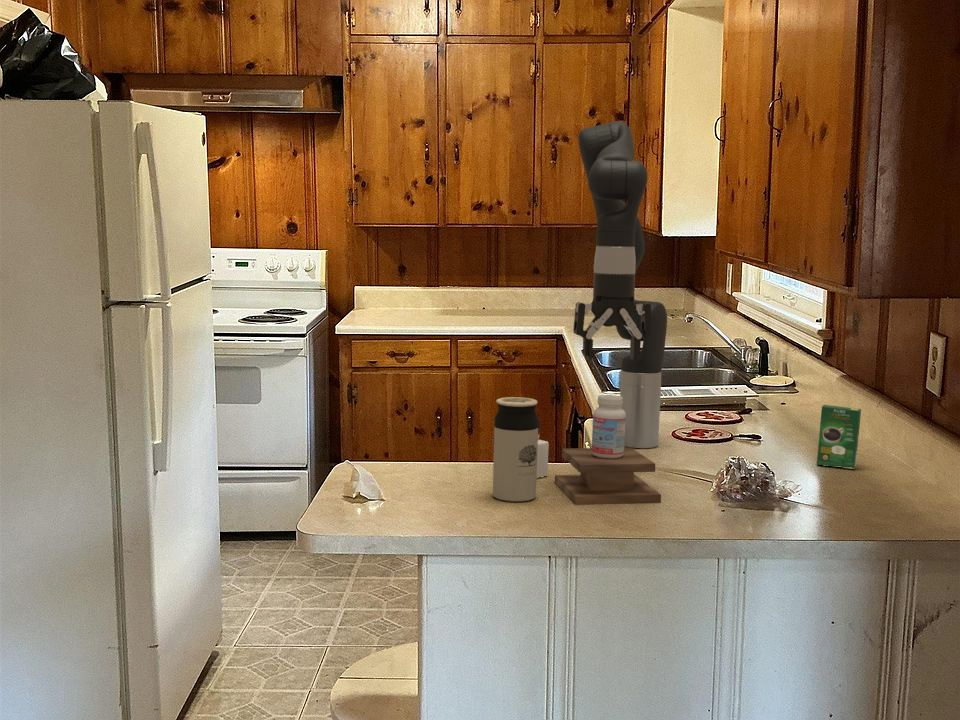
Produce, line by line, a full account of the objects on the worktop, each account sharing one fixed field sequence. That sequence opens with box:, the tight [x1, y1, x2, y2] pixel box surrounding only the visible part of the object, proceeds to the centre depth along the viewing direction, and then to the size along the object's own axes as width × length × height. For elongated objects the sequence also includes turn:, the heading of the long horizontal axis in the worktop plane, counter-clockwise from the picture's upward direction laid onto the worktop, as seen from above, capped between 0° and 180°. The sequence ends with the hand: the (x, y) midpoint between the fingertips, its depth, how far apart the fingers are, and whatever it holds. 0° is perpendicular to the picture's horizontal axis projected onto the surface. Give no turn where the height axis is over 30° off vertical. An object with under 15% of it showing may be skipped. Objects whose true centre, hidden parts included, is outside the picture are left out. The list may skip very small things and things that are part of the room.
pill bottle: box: [591, 394, 626, 459], centre depth 194 cm, size 6×6×11 cm
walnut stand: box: [554, 447, 662, 505], centre depth 195 cm, size 16×16×7 cm
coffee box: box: [816, 404, 862, 469], centre depth 221 cm, size 8×3×13 cm, turn 63°
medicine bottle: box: [537, 418, 549, 479], centre depth 206 cm, size 7×7×12 cm
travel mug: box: [492, 396, 539, 503], centre depth 189 cm, size 8×8×18 cm
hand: (611, 358), depth 192 cm, fingers open, 8 cm apart
